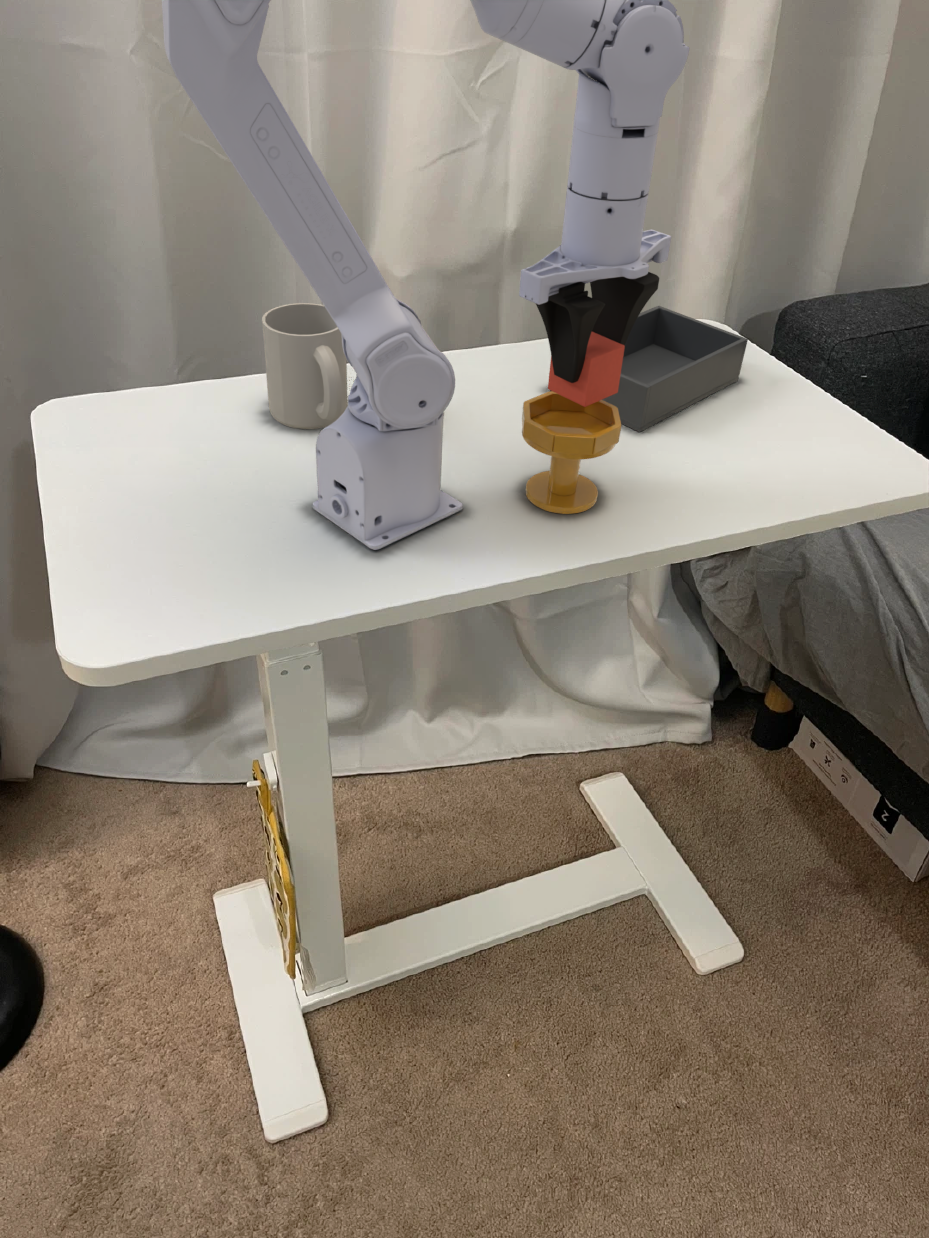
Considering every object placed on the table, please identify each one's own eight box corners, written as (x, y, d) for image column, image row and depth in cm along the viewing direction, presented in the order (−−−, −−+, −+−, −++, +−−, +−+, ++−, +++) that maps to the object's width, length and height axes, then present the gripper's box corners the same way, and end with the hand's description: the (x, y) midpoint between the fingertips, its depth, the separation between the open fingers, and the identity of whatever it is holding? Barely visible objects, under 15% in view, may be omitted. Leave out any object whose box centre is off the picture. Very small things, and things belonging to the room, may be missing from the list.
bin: (639, 432, 93) (647, 387, 90) (549, 391, 99) (554, 348, 96) (738, 380, 103) (748, 338, 100) (651, 345, 108) (658, 305, 106)
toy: (584, 407, 77) (591, 359, 75) (547, 389, 80) (552, 341, 77) (618, 393, 80) (625, 345, 77) (580, 375, 82) (586, 328, 79)
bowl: (564, 530, 79) (576, 447, 75) (497, 490, 84) (504, 409, 79) (625, 498, 84) (639, 417, 79) (558, 462, 88) (567, 383, 83)
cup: (327, 388, 97) (324, 298, 91) (374, 434, 90) (374, 340, 84) (257, 403, 93) (249, 310, 88) (300, 451, 87) (294, 355, 81)
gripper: (581, 223, 64) (560, 416, 72) (716, 185, 72) (682, 362, 80) (503, 196, 68) (491, 381, 76) (639, 162, 76) (614, 333, 84)
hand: (585, 370), depth 78 cm, fingers closed on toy, 4 cm apart
